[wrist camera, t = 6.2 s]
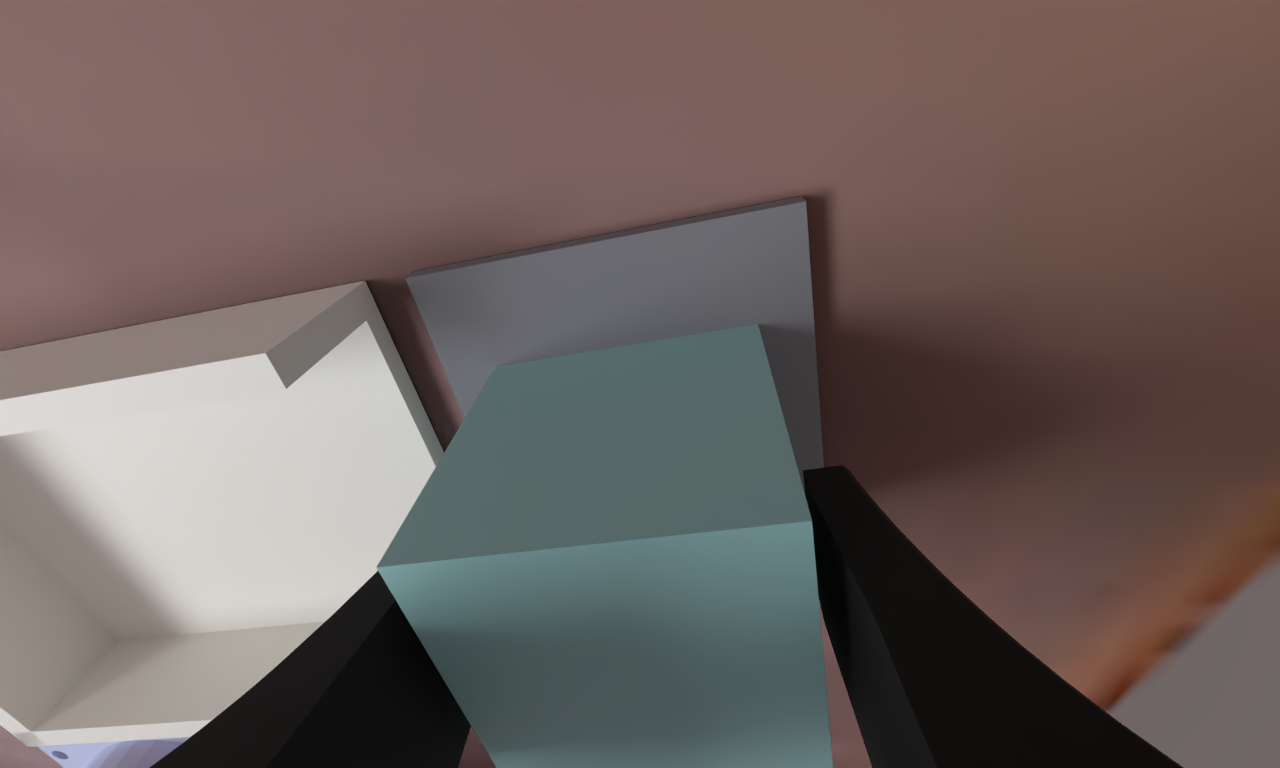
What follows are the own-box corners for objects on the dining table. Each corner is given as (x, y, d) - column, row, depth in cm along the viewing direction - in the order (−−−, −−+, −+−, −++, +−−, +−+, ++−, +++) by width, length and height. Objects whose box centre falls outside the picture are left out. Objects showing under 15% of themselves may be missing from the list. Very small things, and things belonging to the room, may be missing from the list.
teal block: (782, 529, 13) (833, 777, 8) (565, 552, 14) (509, 789, 9) (758, 324, 10) (812, 520, 6) (495, 366, 11) (376, 567, 7)
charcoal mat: (828, 575, 14) (832, 588, 14) (550, 601, 15) (546, 613, 15) (801, 196, 10) (806, 201, 9) (414, 271, 11) (405, 278, 10)
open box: (514, 604, 15) (479, 719, 13) (128, 640, 17) (28, 746, 14) (364, 280, 11) (265, 353, 8) (-129, 376, 13) (-338, 460, 10)
